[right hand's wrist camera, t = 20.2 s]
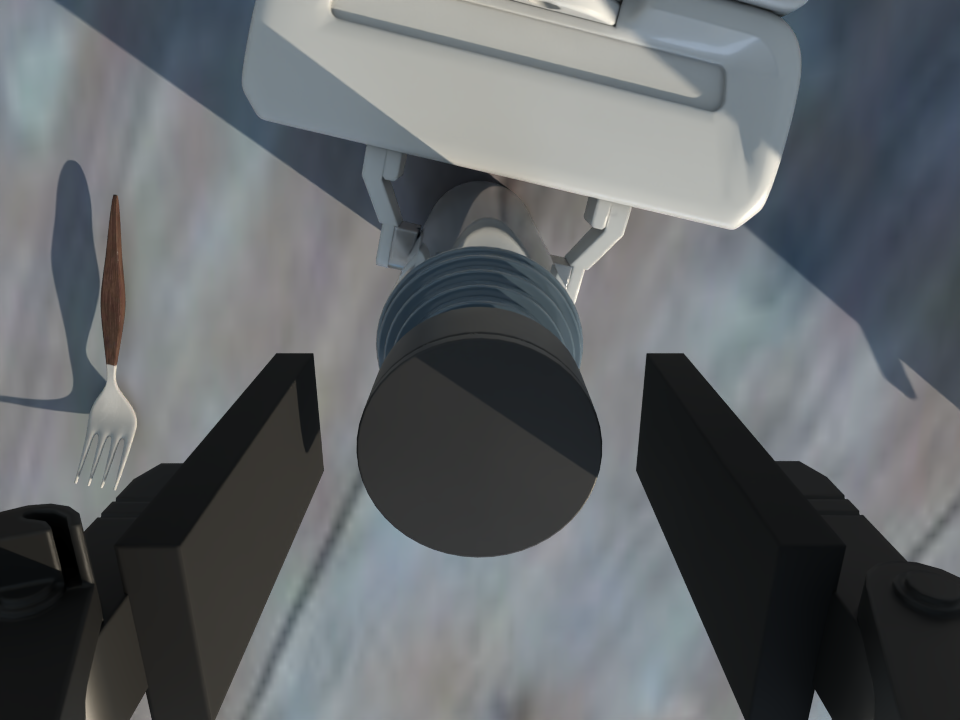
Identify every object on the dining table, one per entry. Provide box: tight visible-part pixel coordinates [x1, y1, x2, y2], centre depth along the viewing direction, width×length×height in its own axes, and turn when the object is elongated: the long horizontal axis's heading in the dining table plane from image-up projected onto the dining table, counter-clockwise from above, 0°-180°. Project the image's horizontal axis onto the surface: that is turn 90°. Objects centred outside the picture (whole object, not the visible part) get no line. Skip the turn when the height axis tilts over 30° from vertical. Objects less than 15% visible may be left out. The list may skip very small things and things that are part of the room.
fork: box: [74, 195, 137, 490], centre depth 35 cm, size 3×16×2 cm, turn 168°
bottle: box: [376, 181, 583, 370], centre depth 24 cm, size 6×6×23 cm
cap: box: [357, 307, 602, 557], centre depth 13 cm, size 4×4×2 cm
